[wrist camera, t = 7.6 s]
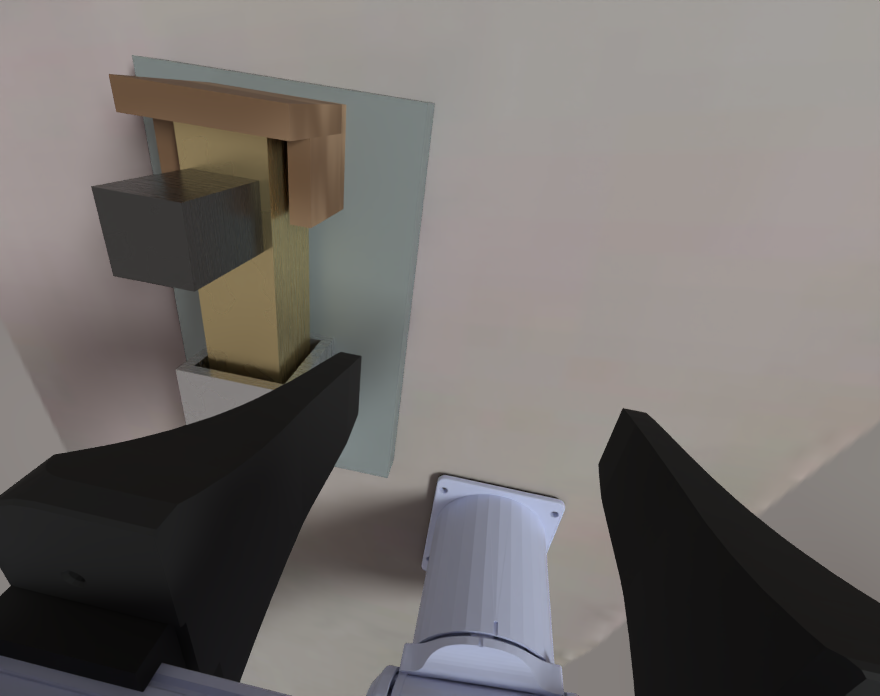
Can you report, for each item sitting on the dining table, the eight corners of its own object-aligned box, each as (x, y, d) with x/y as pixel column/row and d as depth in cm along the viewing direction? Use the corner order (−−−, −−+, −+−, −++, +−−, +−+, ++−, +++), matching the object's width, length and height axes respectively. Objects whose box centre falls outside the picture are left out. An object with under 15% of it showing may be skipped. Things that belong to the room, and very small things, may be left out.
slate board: (393, 460, 28) (387, 478, 26) (214, 422, 29) (200, 437, 27) (434, 103, 18) (428, 102, 17) (158, 59, 19) (132, 55, 17)
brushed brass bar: (310, 384, 23) (233, 488, 17) (251, 372, 23) (153, 470, 17) (307, 128, 17) (184, 141, 11) (228, 115, 17) (62, 120, 11)
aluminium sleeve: (332, 453, 26) (295, 522, 22) (252, 436, 27) (200, 501, 22) (334, 337, 22) (290, 393, 18) (240, 319, 23) (175, 369, 18)
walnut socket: (343, 209, 19) (292, 239, 15) (221, 187, 19) (136, 209, 15) (346, 104, 17) (288, 103, 13) (210, 82, 17) (108, 73, 13)
